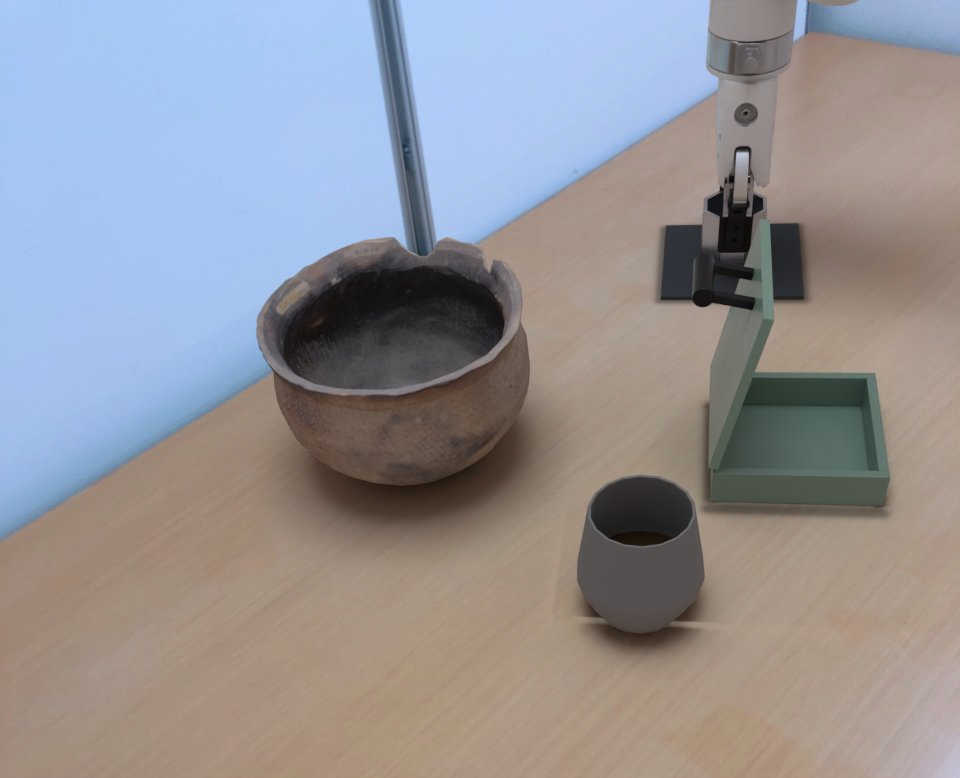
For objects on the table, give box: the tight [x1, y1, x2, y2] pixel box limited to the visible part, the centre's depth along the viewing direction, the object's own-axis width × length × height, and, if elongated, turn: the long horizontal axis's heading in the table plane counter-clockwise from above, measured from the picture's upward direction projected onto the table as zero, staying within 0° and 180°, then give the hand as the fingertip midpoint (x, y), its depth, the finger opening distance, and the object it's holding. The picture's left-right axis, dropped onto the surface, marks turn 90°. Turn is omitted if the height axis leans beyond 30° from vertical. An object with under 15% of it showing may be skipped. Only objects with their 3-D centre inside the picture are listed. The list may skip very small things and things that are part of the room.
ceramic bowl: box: [255, 236, 531, 486], centre depth 94 cm, size 22×22×15 cm
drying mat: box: [660, 222, 805, 301], centre depth 114 cm, size 14×14×1 cm
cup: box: [576, 474, 706, 635], centre depth 81 cm, size 10×9×10 cm
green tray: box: [709, 371, 891, 507], centre depth 93 cm, size 14×14×4 cm
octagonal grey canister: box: [701, 189, 768, 266], centre depth 112 cm, size 6×6×6 cm
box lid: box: [691, 219, 775, 470], centre depth 87 cm, size 14×14×5 cm
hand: (733, 231), depth 112 cm, fingers closed on octagonal grey canister, 6 cm apart
